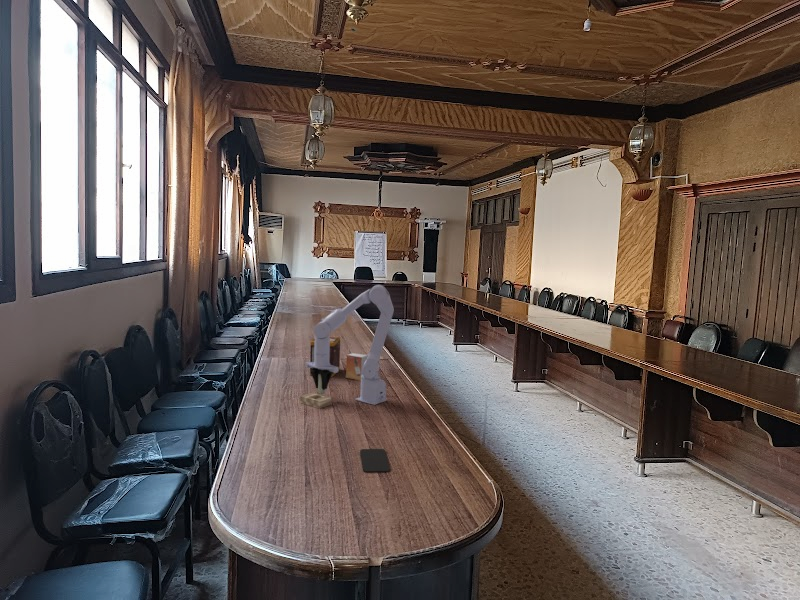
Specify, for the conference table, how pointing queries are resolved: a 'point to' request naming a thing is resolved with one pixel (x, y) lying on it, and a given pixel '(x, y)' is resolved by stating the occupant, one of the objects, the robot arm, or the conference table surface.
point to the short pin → (334, 396)
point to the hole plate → (315, 400)
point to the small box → (355, 365)
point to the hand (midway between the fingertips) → (321, 388)
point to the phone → (374, 460)
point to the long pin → (320, 385)
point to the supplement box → (334, 352)
